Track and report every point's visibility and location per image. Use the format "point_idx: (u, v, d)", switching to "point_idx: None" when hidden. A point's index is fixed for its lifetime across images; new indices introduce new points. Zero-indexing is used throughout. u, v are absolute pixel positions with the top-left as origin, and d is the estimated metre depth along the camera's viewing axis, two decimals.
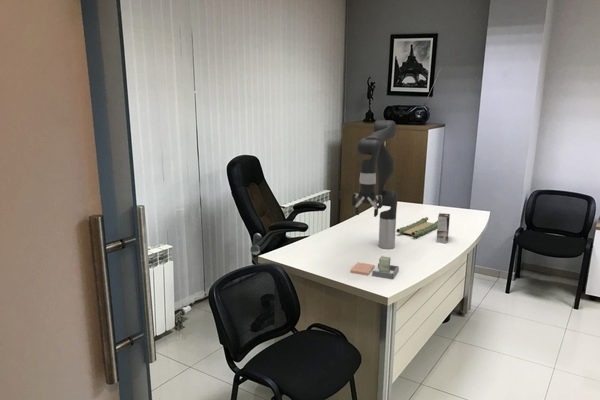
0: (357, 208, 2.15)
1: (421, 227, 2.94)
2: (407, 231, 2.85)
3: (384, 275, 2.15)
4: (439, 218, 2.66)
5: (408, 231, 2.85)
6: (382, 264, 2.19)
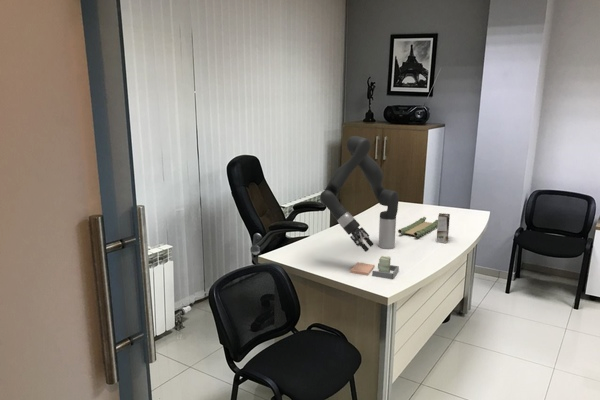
0: (366, 241, 2.27)
1: (421, 227, 2.94)
2: (408, 231, 2.84)
3: (384, 275, 2.15)
4: (439, 218, 2.66)
5: (409, 231, 2.84)
6: (382, 264, 2.19)
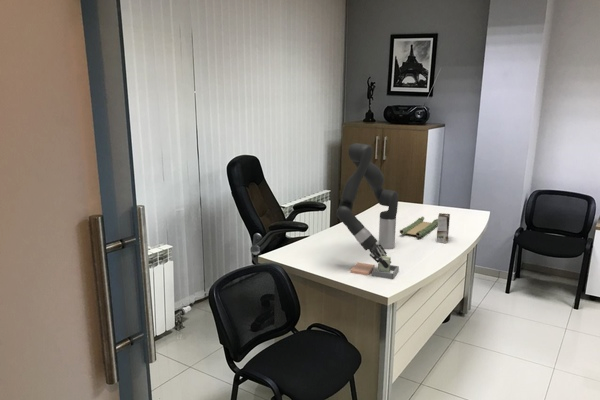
0: None
1: (421, 227, 2.94)
2: (409, 232, 2.83)
3: (384, 275, 2.15)
4: (439, 218, 2.66)
5: (410, 232, 2.84)
6: None
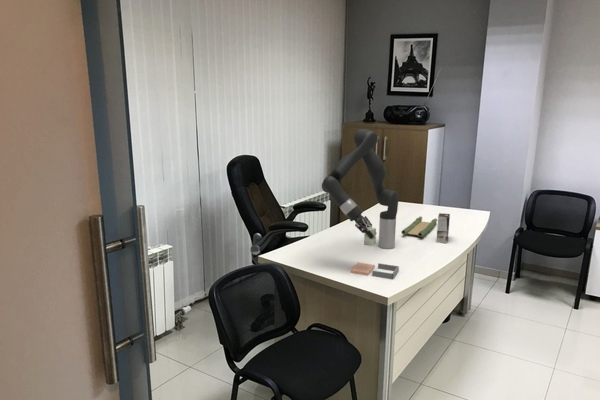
0: None
1: (420, 227, 2.94)
2: (411, 232, 2.83)
3: (384, 275, 2.15)
4: (439, 218, 2.66)
5: (411, 232, 2.83)
6: None
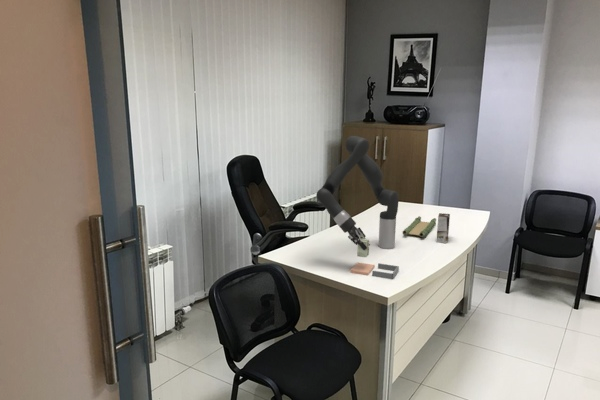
0: None
1: (420, 227, 2.94)
2: (411, 232, 2.83)
3: (384, 275, 2.15)
4: (439, 218, 2.66)
5: (412, 232, 2.83)
6: None
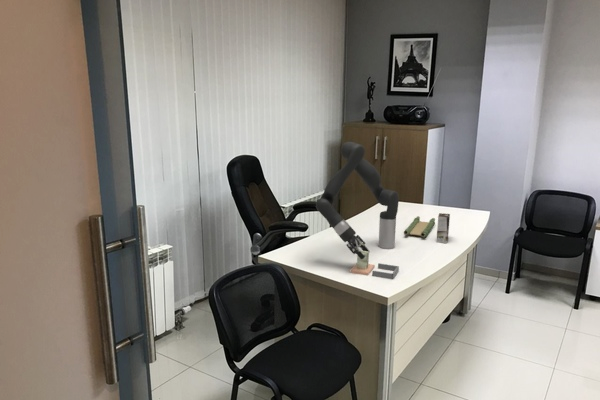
0: (362, 249, 2.28)
1: (420, 227, 2.94)
2: (412, 232, 2.82)
3: (384, 275, 2.15)
4: (439, 218, 2.66)
5: (413, 232, 2.82)
6: None
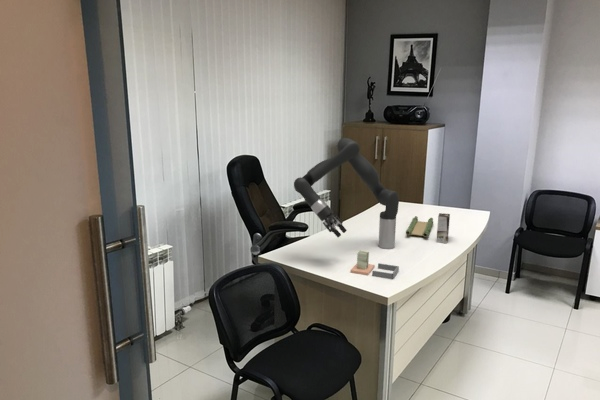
0: None
1: (420, 227, 2.94)
2: (413, 232, 2.82)
3: (384, 275, 2.15)
4: (439, 218, 2.66)
5: (414, 232, 2.82)
6: (360, 258, 2.23)
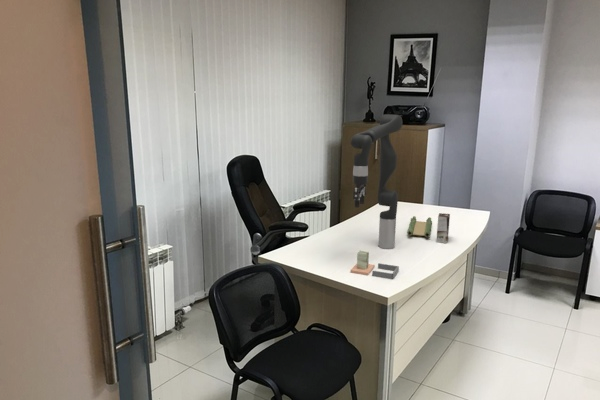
0: (360, 197, 2.35)
1: (420, 227, 2.94)
2: (415, 232, 2.81)
3: (384, 275, 2.15)
4: (439, 218, 2.66)
5: (415, 232, 2.82)
6: (360, 258, 2.23)
